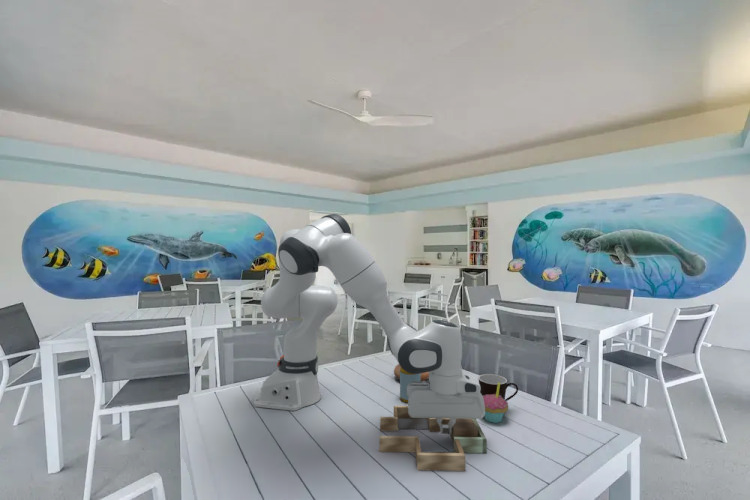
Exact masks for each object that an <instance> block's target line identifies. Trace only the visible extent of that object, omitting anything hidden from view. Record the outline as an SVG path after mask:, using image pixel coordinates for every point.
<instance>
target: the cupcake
mask: <svg viewBox="0 0 750 500" xmlns="http://www.w3.org/2000/svg"><path fill="white" fill-rule="evenodd" d="M499 388H500V381H499V383H498V386H497V392H496V394H489V395H487V394H486V395H483V399H484V405H485V415H484V418H485V420H486V421H487V422H490V423H495V424H498V423H501V422H502V420H503V417H504V414H505V413H506V412H507V411H508V410H509V404H508V403H509V402H508V400H507V401H506V400H504V398H502V397H501V396H499V395H498V394H499Z"/></svg>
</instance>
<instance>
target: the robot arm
mask: <svg viewBox="0 0 750 500" xmlns="http://www.w3.org/2000/svg"><path fill="white" fill-rule="evenodd" d="M277 251H278V252H277V254H278V265H279V280H277V282H276V283H275V284H274V285H273V286H271V287H269V288H267V289H266V290H265V291H264V292H263V294H262V296H261V299H260V307H261V310H262V312H263V314H264V315H265V316H266V317H269V318H274V319H302V321H301V323H300V324H299V325H296V326H295V327H293V328H291V329H290V330H288V331H287V332H286V333H285V334H284V337H283V355H281V356H280V357H279V360H278V361H277V363H276V367H277V368H278V369H276V370H275V371H274V372H273V373H271V374H270V375H269V376H268V377H266V379H265V380H264V381H263V382H262V385H261V388H260V391H259V392H258V393H257V394H256V395H255V397H254V399H253V404H252V405H253V406H254V407H255V408H264V409H273V410H283V411H291V412H294V411H298V410H300V409H302V408H304V407H308V406H311V405H314V404H316V403H317V402H319V401H320V400H321V399H322V393H321V389H320V386H319V378H318V373H319V360H318V359H319V357H318V354H317V344H318V343H317V342H318V334H319V331H320V328H321V326H322V325H323V323H324V322H325V320H327V319H328V318H329V317H330V316H331V315H333V314H334V313H335V311H336V309H337V306H338V302H339V301H338V296H337V293H336V291H335V290H334V289H333V288H332V287H330V286H325V285H319V284H318V285H313V284H314V282H316V278H317V275H316V274H317V273H318V272H319V267H325V268H327V269H328V270H330V272H331V273H332V276H334V278H335V280H337V281H336V282H337V283H338V284H339V285H340V287H341V289H343V291H344V292H345V293H346V294H347V295H348V297H349V298H350V299H351V300H353V302H354V303H355V304H356V305H358V306H361V307H362V308H364V309H366V310H368V312H370V314H371V315H372V316H373V317H374V319H375V320H376V321H377V323H378V324H379V326H380V327H381V329H382V331H383V332H384V333H385V335H386V339H387V344H388V349H389V352H390V353H391V355H392V356H393V357H394V358H395V360H396V362H397V363H398V364H399V365H400V366H401V367H402V369H403V370H405V371H406V372H408V373H411V374H420V373H425V372H429V378H428V380H425V381H412V383H409V384H408V385H407V396H408V397H409V399H408V403H407V406H408V414H409V415H410V417H411V418H436V420H437V423H438V424H439V426H440V434H441V435H450V434H451V428H452V427H453V426H454V424H455V422H456V418H468V419H476V420H477V419H480V420H481V419H483V418H485V416H484V415H485V405H484V399H483V396H482V394H481V393H480V390H481V387H480V384H479V380H477V378H476V377H474V376H473V375H471V374H468V373H467V374H466V373H463V367H462V364H461V363H462V357H463V342H462V341H463V339H462V334H461V330H460V327H459V326H457V324H455V323H453V322H450V321H447V320H442V319H434V320H432V321H431V322H430V323H429V324H428V325H426V326H424V327H423V328H421V329H419V330H417V328H415V327H413V326H412V325H410V324H408V323H407V322H405V321H404V320H403V319H402V317H401V316H400V313H398V311H397V309H396V308H395V306H394V305H393V303H392V302H391V301H390V298H389V296H388V283H387V280H386V278H385V275H384V274H383V272H382V269H381V268H380V266H379V265H378V263H377V261H376V260H375V259H374V257H373V256H372V254H371V253H370V252H369V251H368V249H367V248H366V247H365V246H364V245H363V243H361V242H360V240H359V239H357V238H356V236H355V235H353V234H352V229H351V227H350V225H349V223H348V222H347V220H346V219H345V218H344V217H342V215H339V214H338V213H330V214H327V215H323V216H322V217H321V218H319V219H317V220H314V221H312V222H311V223H309V224H307V225H305V226H304V227H303V228H301V229H300V228H293V229H289V230H287V231H286V232H284V233H283V234H282V236H281V237H280V241H279V246H278V249H277ZM411 384H412V385H411ZM442 418H449V419H450V421H449V423H448V425H442V423H441V422H442Z"/></svg>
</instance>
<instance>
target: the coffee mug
mask: <svg viewBox="0 0 750 500" xmlns="http://www.w3.org/2000/svg"><path fill="white" fill-rule="evenodd" d="M477 379H478V382H479V384H480V387H481V390H480V393H481V394H482V396H483V395H486V394H487V395H489V394H496V392H497V386H498V383H499V381H500V388H499V394H498V395H499V396H501V397H502V398H504V400H506V401H507V402H508V401H509V400H511V399H513V398H514V397H515V396H516V395H517V394H518V392H519V387H518V385H517V384H516V383H514V382H509V383H508V380H507V378H506V377H504V376H501V375H499V374H498V375H497V374H492V373H486V374H485V373H484V374H480V375H479V376H478V378H477ZM509 386H514V387H515V392H514V393H513V394H512V395H510V396H508V397H506V392H507V389H508V387H509Z"/></svg>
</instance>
